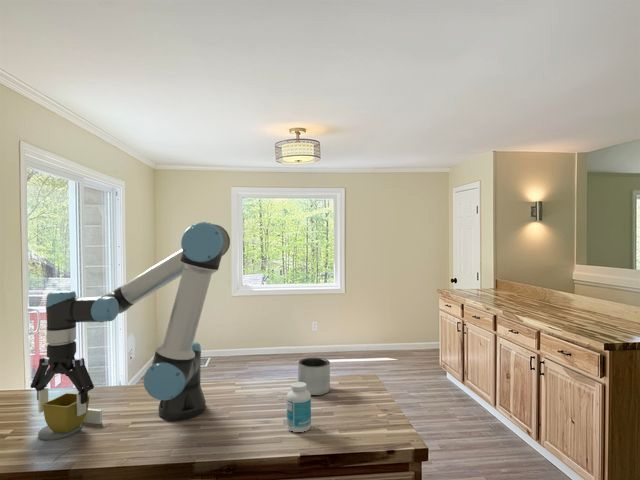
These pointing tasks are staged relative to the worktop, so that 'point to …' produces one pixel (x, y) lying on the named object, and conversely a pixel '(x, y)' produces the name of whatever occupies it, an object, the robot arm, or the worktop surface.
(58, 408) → the flower pot
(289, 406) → the pill bottle
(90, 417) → the wall
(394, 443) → the worktop surface
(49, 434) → the coaster
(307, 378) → the planter
